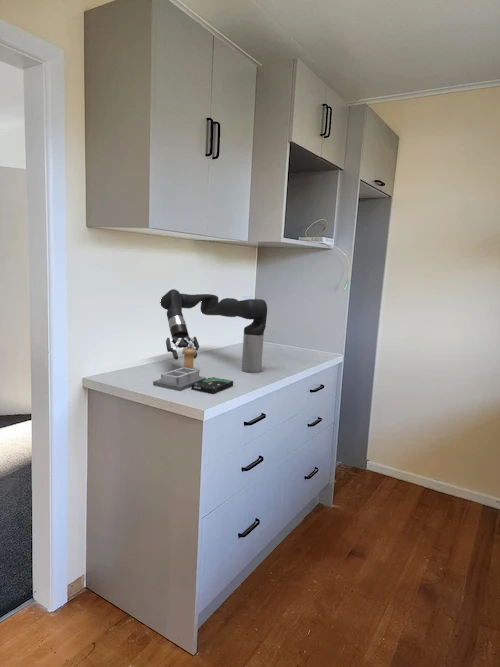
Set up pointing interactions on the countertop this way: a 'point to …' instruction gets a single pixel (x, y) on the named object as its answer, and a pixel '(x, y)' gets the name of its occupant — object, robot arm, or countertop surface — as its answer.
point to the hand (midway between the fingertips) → (186, 358)
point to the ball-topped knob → (189, 357)
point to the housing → (179, 379)
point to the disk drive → (212, 385)
